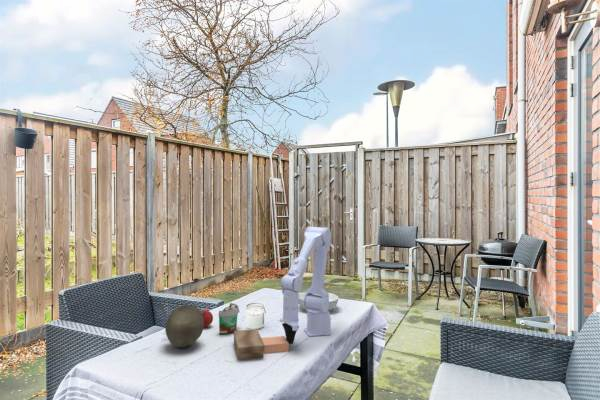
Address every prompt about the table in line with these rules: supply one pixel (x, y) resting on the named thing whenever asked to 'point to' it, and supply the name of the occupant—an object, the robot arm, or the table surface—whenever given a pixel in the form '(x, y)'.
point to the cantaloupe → (184, 325)
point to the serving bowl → (332, 298)
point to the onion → (207, 317)
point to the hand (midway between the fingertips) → (290, 343)
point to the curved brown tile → (248, 344)
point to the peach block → (275, 344)
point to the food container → (228, 319)
